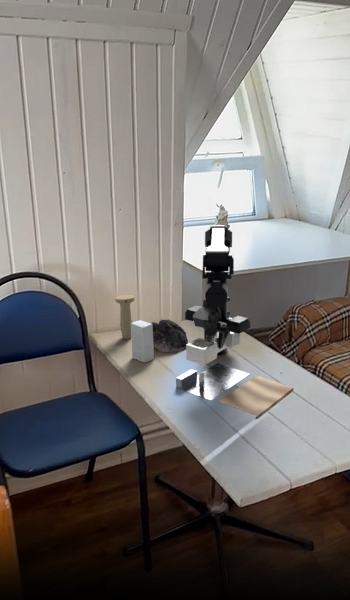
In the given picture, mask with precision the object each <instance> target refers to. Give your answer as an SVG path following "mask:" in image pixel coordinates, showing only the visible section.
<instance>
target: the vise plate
mask: <svg viewBox="0 0 350 600" xmlns="http://www.w3.org/2000/svg"><path fill="white" fill-rule="evenodd" d="M250 375H251V373H249V372H246V371H243V370H241V369H238V368H234V367H231V366H228V365H225V364H223V363H218V362H217V363H215V364H213V365H211V366H210V367H208V368H207V369H205V370H203V371H202V372H199V373H198V371H197V370H195V369H193V368H191V369H188V370H187V371H186V372H184V373H181V374H180V375H179V376H176V377H175V387H176V388H177V389H179V390H182V391H183V392H187V393H190V394H192V395H195V396H198V397H200V398H202V399H205V400H208V401H210V402H211V401H212V400H214V399H215V398H217V397H218V396H220V395H221V394H223V393H224V392H226V391H227V390H229V389H231V388H232V387H234V386H235V385H236V384H238V383H239V382H241V381H242V380H244V379H245V378H247V377H249V376H250ZM176 388H175V389H176Z"/></svg>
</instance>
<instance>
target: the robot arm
mask: <svg viewBox="0 0 350 600" xmlns="http://www.w3.org/2000/svg"><path fill="white" fill-rule="evenodd" d="M204 246H205V253H203V255H202V279H203V280H204V279H206V287H205V296H204V297H205V298H203V300H202V301H203V302H202V305H201V306H200V305H194V306H192V307H189V308H187V309H186V310H185V312H184V319H185V320H186V321H190V322H193V323H194V326H195V327H198V328H202V329H203V331H204V332H203V334H204V337H203V339H206V338H208V337H210V336H212V335H214V334H216V333H218V332H219V349H221V348H222V347H223V345H224V343H225V341H226V339H227V337H228V335H229V333H230V332H233V333H240V334H242V333H244V332H245V331H247V330H249V329H251V321H250V319H249V317H244V316H240V315H236V316H234V317H229V316H230V315H231V311H230V310H228V302H230V301H231V297H230V296H228V285H229V282H228V281H229V280H231V279H232V275H234V274H235V273H234V267H235V264H234V261H235V260H234V257H233V254H231V253H230V252H231V251H230V250H231V248H233V231H232V230H231V229H228V226H227V225H223V224H212V225H210V227H209V229H207V230H206V231H205V232H204ZM228 272H229V273H228ZM227 351H228V347H227V348H225V349H224V350H222V351H220V352H218V353H217V356H223V355H225V354H226V353H227Z"/></svg>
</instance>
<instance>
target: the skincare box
mask: <svg viewBox="0 0 350 600" xmlns="http://www.w3.org/2000/svg"><path fill="white" fill-rule="evenodd" d="M151 323H152V322H151ZM151 323H150V322H148V321H144V320H141V319H139V320H136V321H132V323H131V338H130V340H131V356H132V359H134V360H136V359H137V361H139V362H142V363H145V362H146V363H147V362H151V361H152V360H154V359H155V356H154V354H155V353H154V352H155V351H154V349H155V348H154V347H153V324H151Z"/></svg>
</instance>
